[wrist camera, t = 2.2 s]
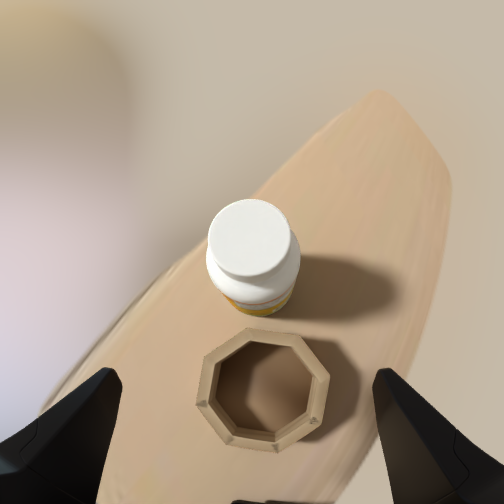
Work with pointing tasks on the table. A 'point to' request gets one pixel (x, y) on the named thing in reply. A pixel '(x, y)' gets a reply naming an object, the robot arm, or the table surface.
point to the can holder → (262, 390)
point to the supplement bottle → (253, 256)
